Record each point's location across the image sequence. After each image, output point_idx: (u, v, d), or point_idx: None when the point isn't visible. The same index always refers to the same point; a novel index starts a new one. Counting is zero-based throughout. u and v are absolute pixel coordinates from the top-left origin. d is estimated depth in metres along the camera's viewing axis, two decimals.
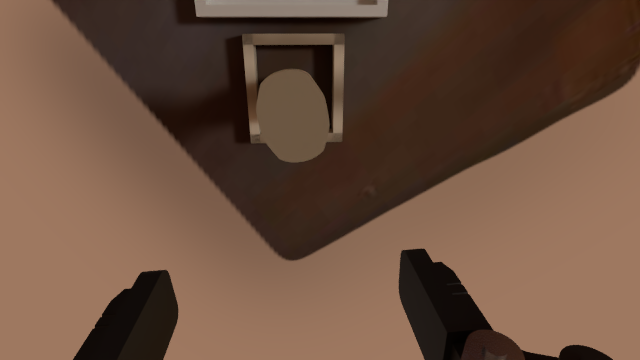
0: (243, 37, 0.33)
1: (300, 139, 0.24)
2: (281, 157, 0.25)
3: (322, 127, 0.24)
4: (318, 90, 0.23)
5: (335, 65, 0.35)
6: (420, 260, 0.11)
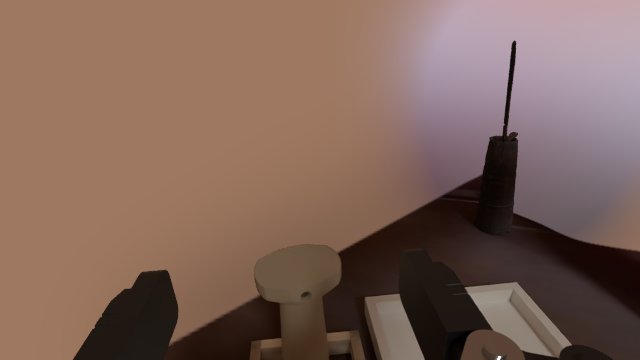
0: (355, 331, 0.36)
1: (277, 271, 0.25)
2: (260, 260, 0.26)
3: (288, 284, 0.24)
4: (325, 278, 0.24)
5: None
6: (420, 260, 0.11)
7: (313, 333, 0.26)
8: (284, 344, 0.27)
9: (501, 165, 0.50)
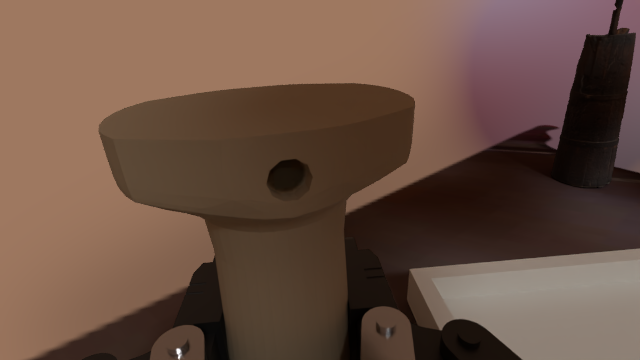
0: None
1: (190, 113, 0.07)
2: (150, 101, 0.08)
3: (217, 130, 0.06)
4: (366, 118, 0.06)
5: None
6: (346, 247, 0.12)
7: (316, 334, 0.08)
8: None
9: (609, 75, 0.32)
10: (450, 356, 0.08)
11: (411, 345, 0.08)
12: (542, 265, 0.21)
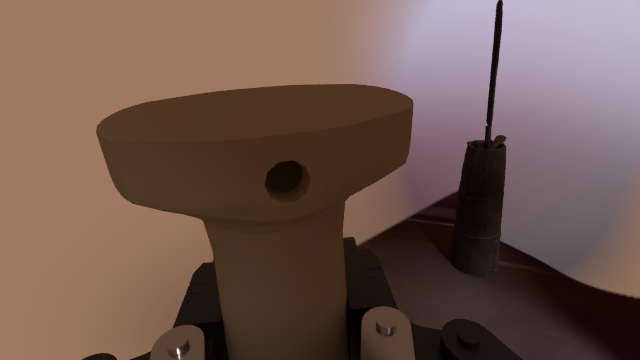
0: None
1: (188, 114, 0.07)
2: (148, 103, 0.08)
3: (215, 132, 0.06)
4: (364, 119, 0.06)
5: None
6: (346, 247, 0.12)
7: (315, 335, 0.08)
8: None
9: (483, 182, 0.35)
10: (450, 356, 0.08)
11: (411, 345, 0.08)
12: None
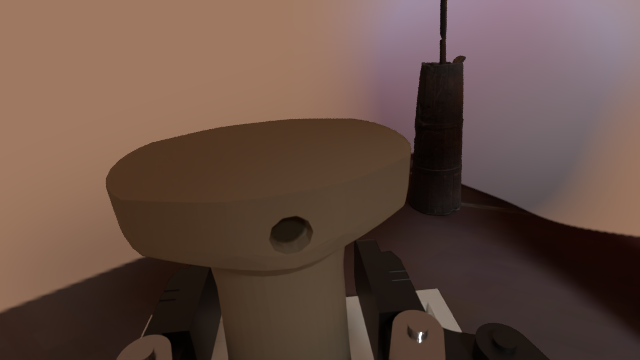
0: None
1: (194, 161, 0.07)
2: (153, 144, 0.08)
3: (221, 189, 0.06)
4: (364, 172, 0.06)
5: None
6: (369, 249, 0.12)
7: None
8: None
9: (438, 104, 0.32)
10: (483, 358, 0.08)
11: (442, 352, 0.08)
12: None
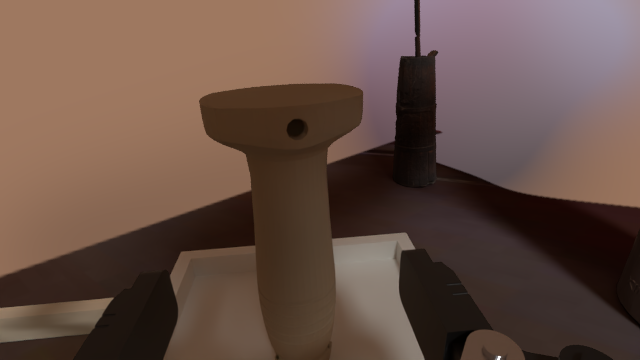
0: None
1: (243, 98, 0.13)
2: (215, 93, 0.14)
3: (262, 105, 0.12)
4: (334, 100, 0.12)
5: None
6: (420, 260, 0.11)
7: (310, 227, 0.15)
8: (259, 254, 0.16)
9: (414, 91, 0.38)
10: None
11: None
12: None
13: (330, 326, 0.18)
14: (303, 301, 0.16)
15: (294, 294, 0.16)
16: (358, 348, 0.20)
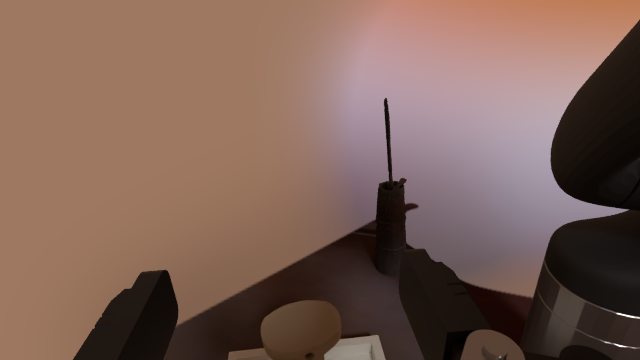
0: None
1: (282, 331, 0.27)
2: (266, 318, 0.28)
3: (293, 346, 0.26)
4: (326, 339, 0.26)
5: None
6: (420, 260, 0.11)
7: None
8: None
9: (388, 212, 0.51)
10: None
11: None
12: None
13: None
14: None
15: None
16: None
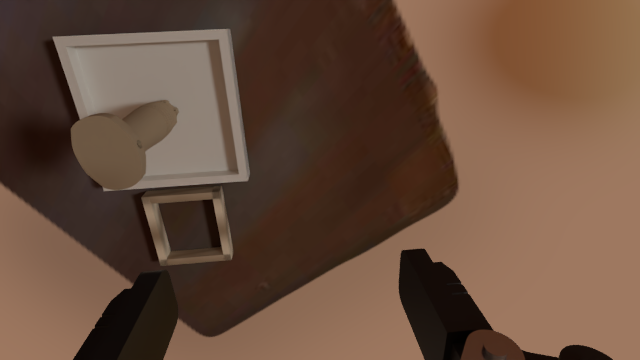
0: (142, 199, 0.45)
1: (118, 171, 0.29)
2: (105, 186, 0.29)
3: (134, 160, 0.28)
4: (122, 131, 0.27)
5: (216, 211, 0.46)
6: (420, 260, 0.11)
7: (148, 126, 0.33)
8: None
9: None
10: None
11: None
12: None
13: (163, 104, 0.38)
14: (165, 121, 0.36)
15: (165, 126, 0.36)
16: (158, 84, 0.40)
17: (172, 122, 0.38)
